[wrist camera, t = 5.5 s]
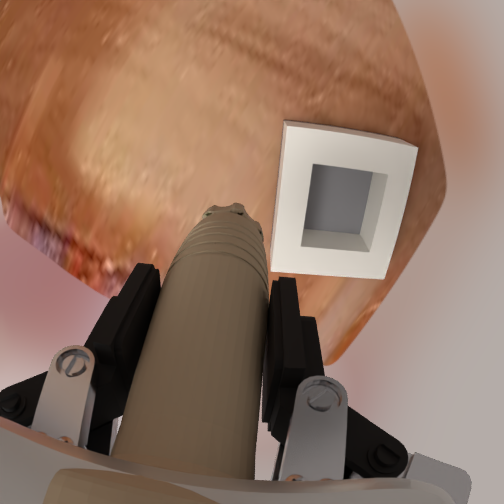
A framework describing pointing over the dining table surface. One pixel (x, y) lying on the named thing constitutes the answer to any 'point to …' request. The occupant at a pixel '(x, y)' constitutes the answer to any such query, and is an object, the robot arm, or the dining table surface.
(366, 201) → the socket stand
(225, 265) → the handle
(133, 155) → the dining table surface
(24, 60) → the dining table surface
